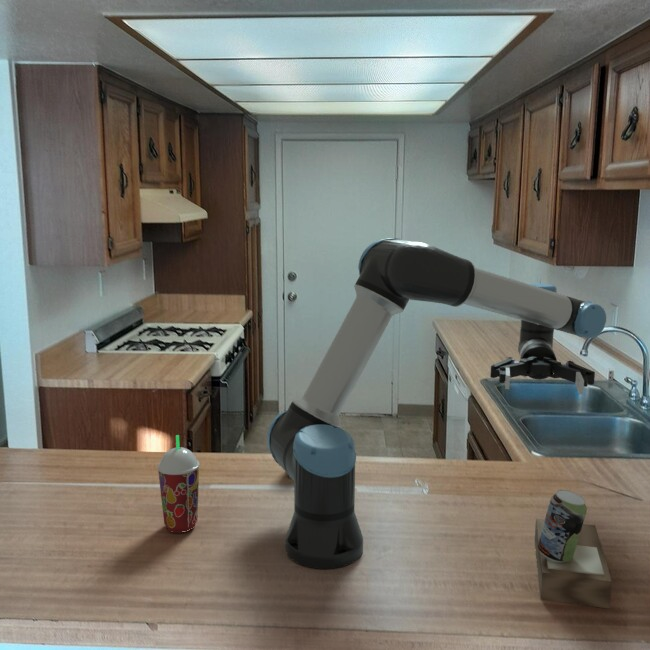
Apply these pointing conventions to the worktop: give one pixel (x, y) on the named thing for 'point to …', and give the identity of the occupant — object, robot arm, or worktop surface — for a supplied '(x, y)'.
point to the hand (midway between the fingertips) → (544, 384)
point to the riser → (576, 572)
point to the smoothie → (179, 488)
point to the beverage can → (562, 526)
